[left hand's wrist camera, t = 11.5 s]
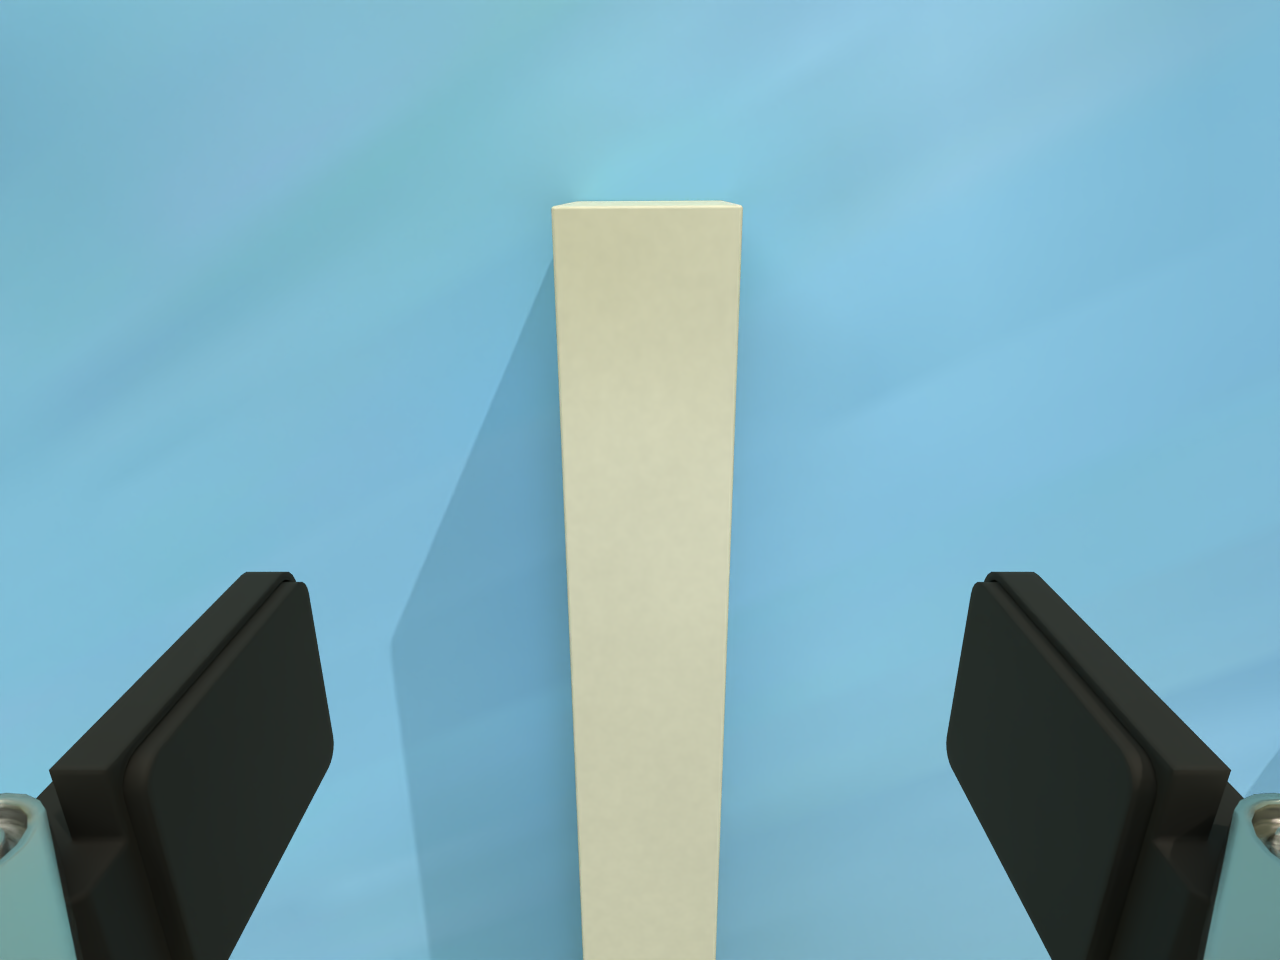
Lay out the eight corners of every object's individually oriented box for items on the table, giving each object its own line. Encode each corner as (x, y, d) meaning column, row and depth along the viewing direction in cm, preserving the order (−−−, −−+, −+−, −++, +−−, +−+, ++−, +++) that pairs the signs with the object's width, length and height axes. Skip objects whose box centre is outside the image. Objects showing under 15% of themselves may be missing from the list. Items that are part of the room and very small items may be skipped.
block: (575, 201, 32) (550, 206, 25) (723, 200, 32) (743, 205, 24) (606, 1164, 53) (598, 1319, 45) (696, 1165, 52) (702, 1322, 45)
